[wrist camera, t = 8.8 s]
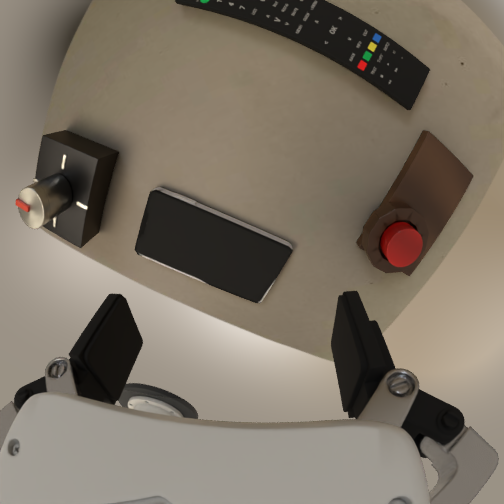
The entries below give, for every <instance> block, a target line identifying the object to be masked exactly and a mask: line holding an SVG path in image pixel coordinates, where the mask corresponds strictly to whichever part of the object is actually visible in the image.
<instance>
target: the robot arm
mask: <svg viewBox="0 0 504 504" xmlns="http://www.w3.org/2000/svg"><path fill="white" fill-rule="evenodd" d="M142 344H143V340H142V337H141V335H140V333H139V330H138V328H137V325H136V323H135V321H134V318H133V316H132V313H131V310H130V308H129V305H128V303H127V300H126V298H124V297H123V296H122V295H121V294H109V295H108V296H107V298H106V299H105V301H104V302H103V303H102V305H101V306H100V308H99V309H98V311H97V312H96V313H95V315H94V316H93V318H92V319H91V321H90V322H89V324H88V325H87V327H86V328H85V330H84V331H83V333H82V334H81V336H80V337H79V339H78V340H77V342H76V343H75V345H74V347H73V348H72V350H71V351H70V353H69V356H70V357H71V358H70V359H69V360H68V359H67V358H65V357H58V358H55V359H54V360H52V361H51V362H50V363H49V364H48V365H47V367H46V369H45V376H44V377H42V378H40V379H38V380H36V381H34V382H32V383H30V384H27V385H25V386H23V387H22V388H20V389H19V390H18V391H17V393H16V395H15V398H14V403H13V402H12V401H11V402H10V403H9V404H8V405H6V406H5V407H4V408H3V409H2V410H0V504H469V503H470V502H471V501H472V500H473V499H474V497H475V496H476V495H477V494H478V492H479V491H480V490H481V488H482V487H483V486H484V485H485V483H486V482H487V481H488V479H489V478H490V476H491V475H492V473H493V472H494V470H495V469H496V467H497V465H498V460H499V458H498V454H497V452H496V451H495V449H493V447H491V446H490V445H489V444H488V443H487V442H486V441H485V440H484V439H483V438H482V437H481V436H480V435H479V434H478V433H477V432H476V431H475V430H474V429H472V428H471V427H469V428H467V427H466V426H465V425H464V417H463V414H462V413H461V412H460V410H459V409H457V408H456V407H454V406H452V405H450V404H448V403H445V402H443V401H442V400H439V399H437V398H435V397H433V396H431V395H429V394H427V393H426V392H424V391H422V390H420V389H419V381H418V379H417V377H416V376H415V375H414V374H413V373H412V372H410V371H408V370H405V369H395V366H394V364H393V361H392V358H391V355H390V353H389V350H388V348H387V345H386V343H385V340H384V337H383V335H382V333H381V330H380V328H379V325H378V323H377V322H376V321H375V320H373V321H369V318H368V316H367V313H366V311H365V308H364V306H363V303H362V301H361V298H360V296H359V294H358V292H357V291H347V292H343V295H339V297H338V303H337V310H336V316H335V322H334V328H333V334H332V340H331V348H332V353H333V358H334V363H335V368H336V373H337V378H338V384H339V388H340V394H341V400H342V406H343V411H344V412H348V415H349V418H353V417H355V418H356V419H349V420H348V419H347V420H346V419H345V420H344V419H343V420H325V421H311V422H280V423H252V422H227V421H212V420H201V419H192V418H184V417H183V415H182V414H181V412H180V411H178V410H177V409H176V408H174V407H173V406H171V405H169V404H167V403H165V402H163V401H160V400H158V399H154V398H151V397H146V396H134V397H131V398H130V399H129V401H128V407H129V408H125V407H121V406H116V405H115V403H116V401H117V400H119V398H120V396H121V394H122V391H123V389H124V387H125V384H126V382H127V379H128V377H129V374H130V372H131V370H132V367H133V365H134V363H135V361H136V358H137V356H138V354H139V352H140V350H141V347H142ZM421 457H423V458H428V459H429V460H431V462H432V463H433V464H432V466H433V467H434V468H435V469H436V471H437V472H438V476H439V479H438V482H437V484H436V486H435V487H434V488H433V489H432V490H431V491H430V492H429V490H428V485H427V480H426V475H425V471H424V467H423V463H422V460H421Z"/></svg>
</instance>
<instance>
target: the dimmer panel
mask: <svg viewBox="0 0 504 504" xmlns="http://www.w3.org/2000/svg"><path fill="white" fill-rule="evenodd" d="M118 154H119V152H118V151H116V150H113V149H111V148H109V147H106V146H104V145H101V144H99V143H96V142H94V141H92V140H89V139H87V138H84V137H82V136H79V135H77V134H74V133H72V132H69V131H66V130H64V131H60V132H55V133H51V134H47V135H43V136H42V141H41V146H40V152H39V157H38V163H37V170H36V177H35V178H34V180H33V181H34V182H35V183H36V182H38V181H40V180H42V179H44V178H47V177H49V176H51V175H53V174H60V175H62V176H64V177H65V178H66V179H67V181H68V182H69V184H70V187H71V190H72V202H71V205H70V206H69V208H68V209H67V210H66V211H64V212H62V213H61V214H59V215H58V216H56V217H55V218H53V219H52V220H50V221H49V222H47V223H46V224H45V225H43V227H45V228H47V229H48V230H50V231H52V232H53V233H55V234H57V235H58V236H60V237H62V238H64V239H65V240H67V241H69V242H70V243H72V244H74V245H76V246H78V247H79V248H82V247H83V246H84V245H85V244H86V243H87V242H88V241H89V240H91V239H92V238H93V237H94V236H95V235H96V234H97V233H99V228H100V223H101V218H102V214H103V209H104V205H105V201H106V196H107V192H108V189H109V185H110V181H111V177H112V174H113V170H114V167H115V163H116V160H117V157H118Z"/></svg>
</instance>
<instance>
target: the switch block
mask: <svg viewBox="0 0 504 504" xmlns="http://www.w3.org/2000/svg"><path fill="white" fill-rule="evenodd" d="M472 178H473V175H472V174H471V173H470V172H469V171H468V169H467V168H466V167H465V166H464V165H463V164H462V163H461V162H460V161H459V160H458V159H457V158H456V157H455V156H454V155H453V154H452V153H451V152H450V151H449V150H448V149H447V148H446V147H445V146H444V145H443V144H442V143H441V142H440V141H439V140H438V139H437V138H436V137H435V136H434V135H432V134H431V133H430V132H429V131H424V130H423V132H422V134H421V135H420V137H419V139H418V141H417V143H416V145H415V147H414V149H413V150H412V152H411V154H410V156H409V158H408V159H407V161H406V163H405V165H404V166H403V168H402V170H401V172H400V173H399V175H398V177H397V178H396V180H395V182H394V184H393V185H392V187H391V189H390V190H389V192H388V193H387V195H386V197H385V198H384V200H383V202H382V203H381V205H380V206H379V208H378V209H377V210H375V211H374V212H373V213H372V214H371V216H370V218H369V219H368V221H367V222H366V224H365V225H364V227H363V233H362V234H361V236H360V237H359V239H358V240H357V242H356V243H357V245H358V246H359V248H361V249H363V250H365V252H366V254H367V256H368V258H369V260H370V261H371V263H372V265H373V266H374V267H376V268H378V269H380V270H381V271H383V272H385V273H393V272H403V273H405V274H406V275H408V276H410V275H411V274H412V272H413V271H414V270H415V268H416V267H417V266H418V264H419V263H420V262H421V260H422V259H423V257H424V256H425V255H426V253H427V252H428V250H429V249H430V247H431V246H432V245H433V243H434V242H435V240H436V239H437V237H438V236H439V234H440V233H441V231H442V229H443V228H444V226H445V225H446V223H447V222H448V220H449V218H450V217H451V215H452V214H453V212H454V210H455V209H456V207H457V205H458V203H459V202H460V200H461V198H462V196H463V195H464V193H465V191H466V189H467V187H468V186H469V184H470V182H471V180H472ZM396 222H406V223H408V224H410V225H411V226H412V227H413V228H414V229H415V230H416V231H417V232H419V234H420V235H421V237H422V242H423V246H422V250H421V253H420V255H419V256H418V258H417V259H416V260H415V261H414V262H413V263H411V264H410V265H408V266H405V267H396V266H394V265H392V264H391V263H390V262H389V261H388V259H387V258H386V257H385V255H384V254H383V252H382V250H381V246H380V242H381V237H382V235H383V233H384V231H385V230H386V229H387V228H388V227H389V226H390V225H392V224H394V223H396Z"/></svg>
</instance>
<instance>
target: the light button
mask: <svg viewBox="0 0 504 504" xmlns="http://www.w3.org/2000/svg"><path fill="white" fill-rule="evenodd" d="M380 246H381V250H382V252H383V254H384V255H385V257H386V258H387V259H388V261H389V262H390V263H391V264H392V265H394V266H396V267H405V266H408V265H410V264H411V263H413V262H414V261H415V260H416V259H417V258H418V256H419V255H420V253H421V250H422V246H423V242H422V237H421V235H420V234H419V232H417V231H416V230H415V229H414V228H413V227H412V226H411V225H410V224H408V223H406V222H396V223H394V224H392V225H390V226H389V227H388V228H387V229H386V230H385V231H384V233H383V235H382V237H381V242H380Z"/></svg>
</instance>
